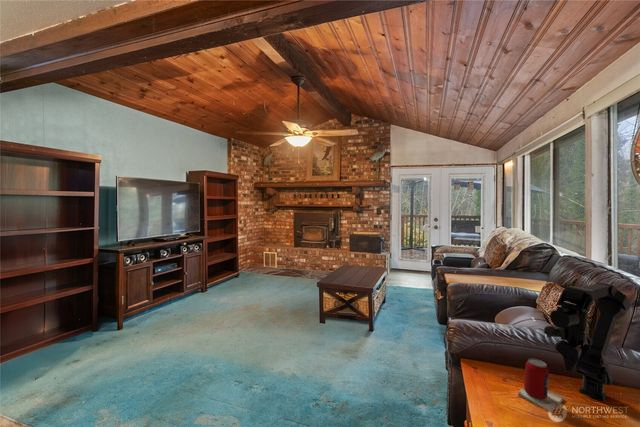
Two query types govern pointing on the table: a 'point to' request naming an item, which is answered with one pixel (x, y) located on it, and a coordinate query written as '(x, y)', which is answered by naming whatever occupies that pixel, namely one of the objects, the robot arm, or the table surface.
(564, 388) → the table surface
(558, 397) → the birch board
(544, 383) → the beverage can
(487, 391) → the table surface
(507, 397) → the table surface
